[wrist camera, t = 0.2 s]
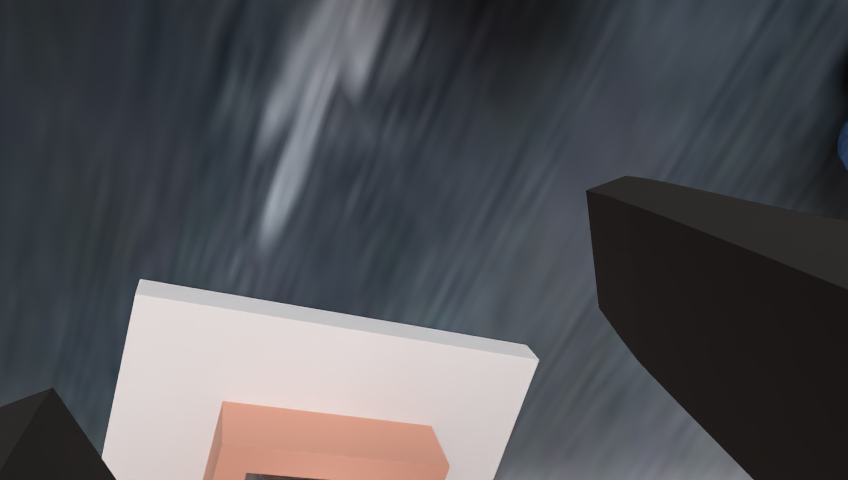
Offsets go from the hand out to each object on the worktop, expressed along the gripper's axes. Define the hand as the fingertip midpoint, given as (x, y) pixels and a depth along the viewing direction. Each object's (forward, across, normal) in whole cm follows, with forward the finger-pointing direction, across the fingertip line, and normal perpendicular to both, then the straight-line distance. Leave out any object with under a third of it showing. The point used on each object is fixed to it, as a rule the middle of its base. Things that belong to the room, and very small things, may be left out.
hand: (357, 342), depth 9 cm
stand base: (+9, +3, +11) cm, 15 cm away
